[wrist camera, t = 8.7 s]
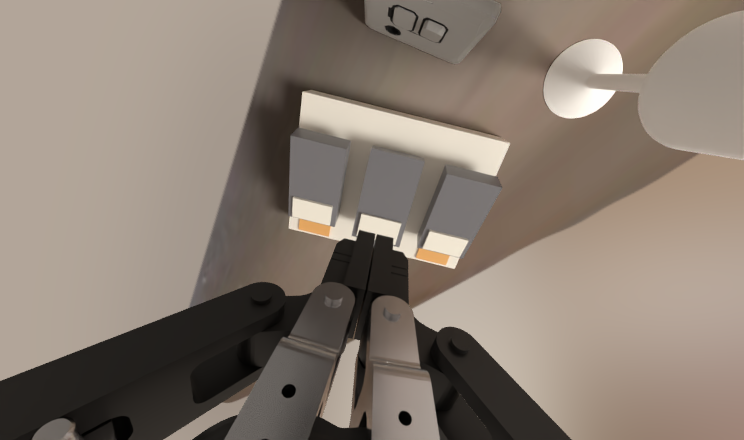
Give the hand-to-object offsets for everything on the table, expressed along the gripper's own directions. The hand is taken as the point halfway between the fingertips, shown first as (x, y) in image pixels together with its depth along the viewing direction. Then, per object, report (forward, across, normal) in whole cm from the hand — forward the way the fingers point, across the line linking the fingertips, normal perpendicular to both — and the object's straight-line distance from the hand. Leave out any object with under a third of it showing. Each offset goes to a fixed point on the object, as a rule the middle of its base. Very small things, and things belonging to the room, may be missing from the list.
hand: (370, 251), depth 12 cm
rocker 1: (+16, +6, +4) cm, 18 cm away
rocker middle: (+16, -1, +4) cm, 17 cm away
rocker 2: (+16, -8, +4) cm, 19 cm away
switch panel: (+21, -1, +4) cm, 22 cm away
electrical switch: (+22, 0, -12) cm, 25 cm away
